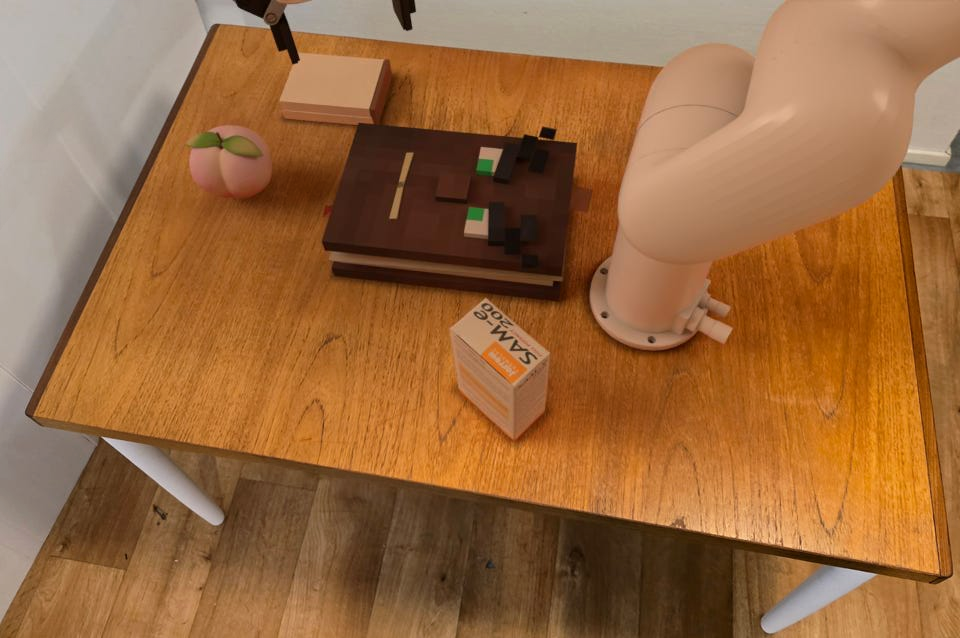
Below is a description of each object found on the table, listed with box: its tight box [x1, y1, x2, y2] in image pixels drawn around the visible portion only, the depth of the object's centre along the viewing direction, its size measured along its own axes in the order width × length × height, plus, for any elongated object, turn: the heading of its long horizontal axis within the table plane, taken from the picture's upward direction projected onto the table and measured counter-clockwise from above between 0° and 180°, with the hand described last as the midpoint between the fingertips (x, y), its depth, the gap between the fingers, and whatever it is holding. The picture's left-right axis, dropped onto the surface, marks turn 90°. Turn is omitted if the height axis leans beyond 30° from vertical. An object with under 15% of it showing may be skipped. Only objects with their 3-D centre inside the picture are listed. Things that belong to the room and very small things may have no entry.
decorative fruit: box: [185, 124, 273, 199], centre depth 86 cm, size 9×8×10 cm
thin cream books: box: [278, 52, 393, 126], centre depth 96 cm, size 12×9×3 cm
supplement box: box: [449, 297, 551, 442], centre depth 70 cm, size 8×5×13 cm, turn 44°
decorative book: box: [321, 123, 594, 303], centre depth 83 cm, size 19×8×30 cm
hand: (348, 36), depth 62 cm, fingers open, 9 cm apart
